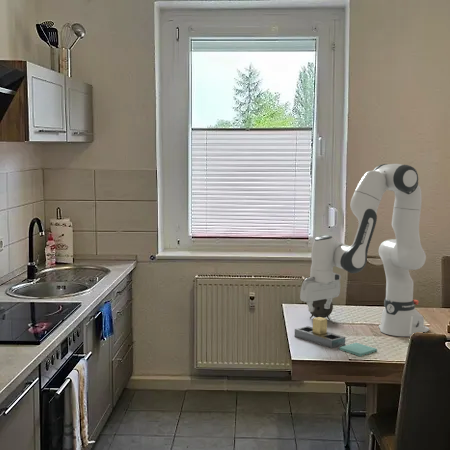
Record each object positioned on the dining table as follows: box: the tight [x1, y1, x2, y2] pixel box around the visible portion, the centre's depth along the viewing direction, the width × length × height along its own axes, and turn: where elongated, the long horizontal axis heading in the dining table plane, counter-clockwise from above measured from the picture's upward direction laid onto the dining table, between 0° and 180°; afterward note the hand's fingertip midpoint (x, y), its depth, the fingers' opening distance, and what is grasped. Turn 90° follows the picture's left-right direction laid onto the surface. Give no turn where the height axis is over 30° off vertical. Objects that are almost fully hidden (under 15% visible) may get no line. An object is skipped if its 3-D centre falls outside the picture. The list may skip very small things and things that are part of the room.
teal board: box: [339, 342, 378, 357], centre depth 247 cm, size 10×10×1 cm
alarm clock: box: [309, 299, 334, 321], centre depth 290 cm, size 11×5×16 cm, turn 84°
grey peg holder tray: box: [294, 325, 346, 349], centre depth 260 cm, size 8×20×3 cm, turn 40°
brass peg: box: [312, 317, 328, 336], centre depth 259 cm, size 4×4×9 cm
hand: (319, 310), depth 258 cm, fingers open, 8 cm apart
